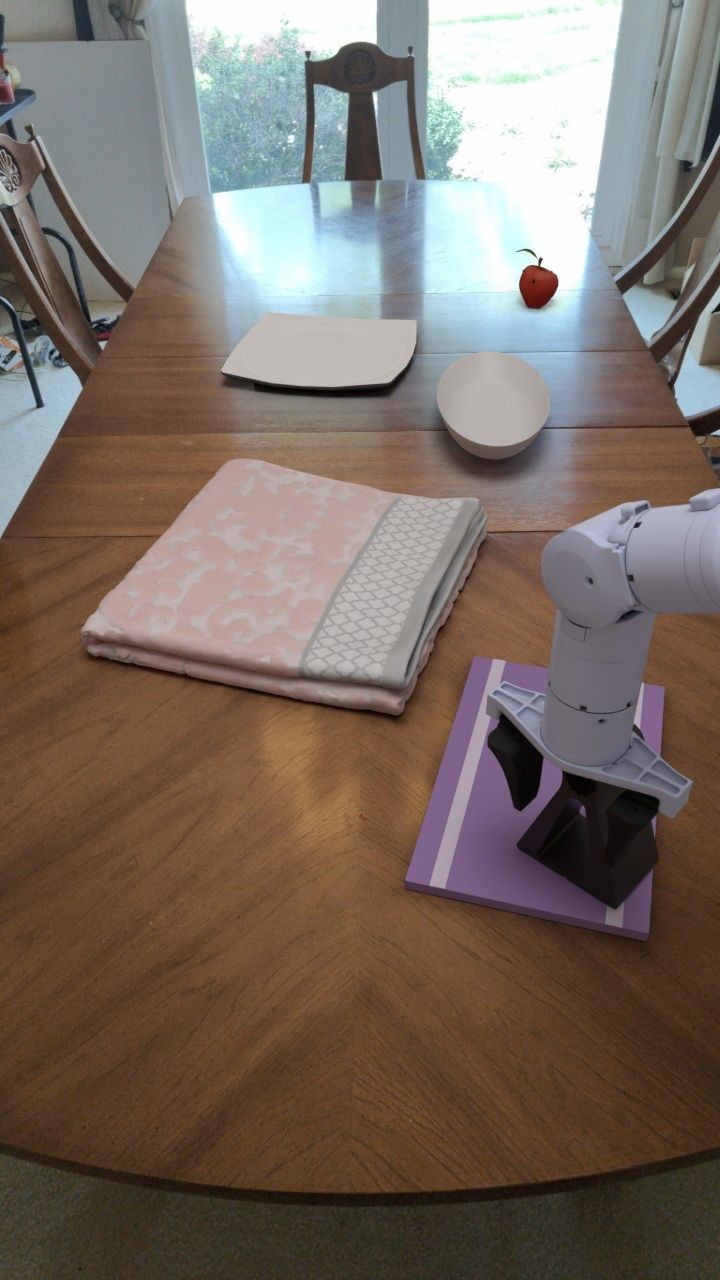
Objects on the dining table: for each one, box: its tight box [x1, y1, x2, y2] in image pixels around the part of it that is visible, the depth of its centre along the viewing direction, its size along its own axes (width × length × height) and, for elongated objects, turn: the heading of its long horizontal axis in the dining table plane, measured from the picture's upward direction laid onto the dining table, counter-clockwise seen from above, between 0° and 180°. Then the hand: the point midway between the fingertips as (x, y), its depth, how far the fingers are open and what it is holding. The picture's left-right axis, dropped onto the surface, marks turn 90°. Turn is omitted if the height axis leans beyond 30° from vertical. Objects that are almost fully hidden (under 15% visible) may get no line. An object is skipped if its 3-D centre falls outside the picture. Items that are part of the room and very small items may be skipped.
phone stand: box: [517, 724, 660, 909], centre depth 72 cm, size 9×6×12 cm, turn 47°
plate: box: [220, 311, 418, 392], centre depth 156 cm, size 29×29×3 cm
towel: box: [80, 458, 489, 716], centre depth 105 cm, size 36×34×6 cm
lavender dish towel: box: [404, 655, 666, 942], centre depth 83 cm, size 28×18×1 cm, turn 164°
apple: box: [515, 248, 559, 310], centre depth 172 cm, size 8×7×10 cm
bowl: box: [436, 350, 551, 460], centre depth 133 cm, size 30×15×6 cm, turn 176°
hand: (569, 829), depth 70 cm, fingers open, 7 cm apart
